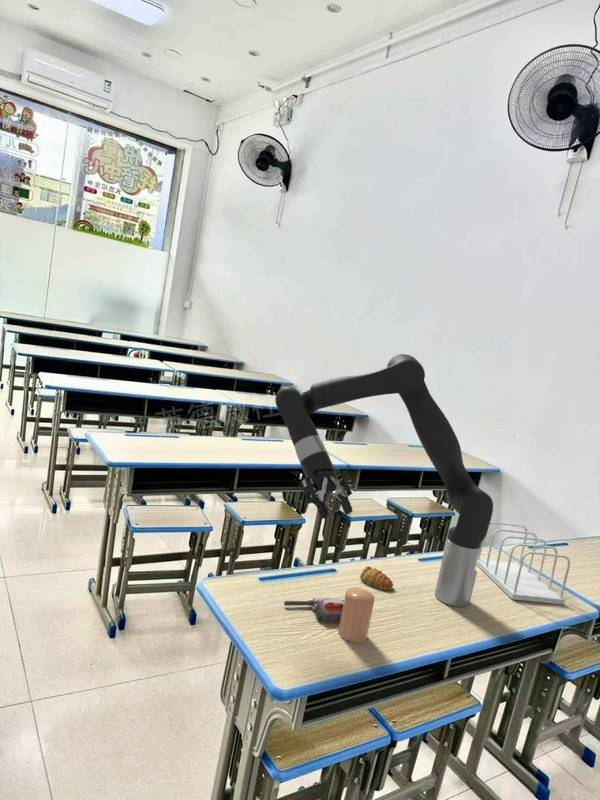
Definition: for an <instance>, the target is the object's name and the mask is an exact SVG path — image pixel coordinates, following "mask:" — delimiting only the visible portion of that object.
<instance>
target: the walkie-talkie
mask: <svg viewBox="0 0 600 800" xmlns="http://www.w3.org/2000/svg"><path fill="white" fill-rule="evenodd" d="M343 604H344V600H342V599H340V598H339V597H338V598H336V597H335V598H330V597H316V596H315V597H312V600H311V599H309V600H285V601H284V602H283V605H284V606H309V607H311V606H312V607H311V610H312V611H313V612H314V613H315V617H316V620H320V622H321V623H322V624H340V619H341V614H342V609H343Z"/></svg>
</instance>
